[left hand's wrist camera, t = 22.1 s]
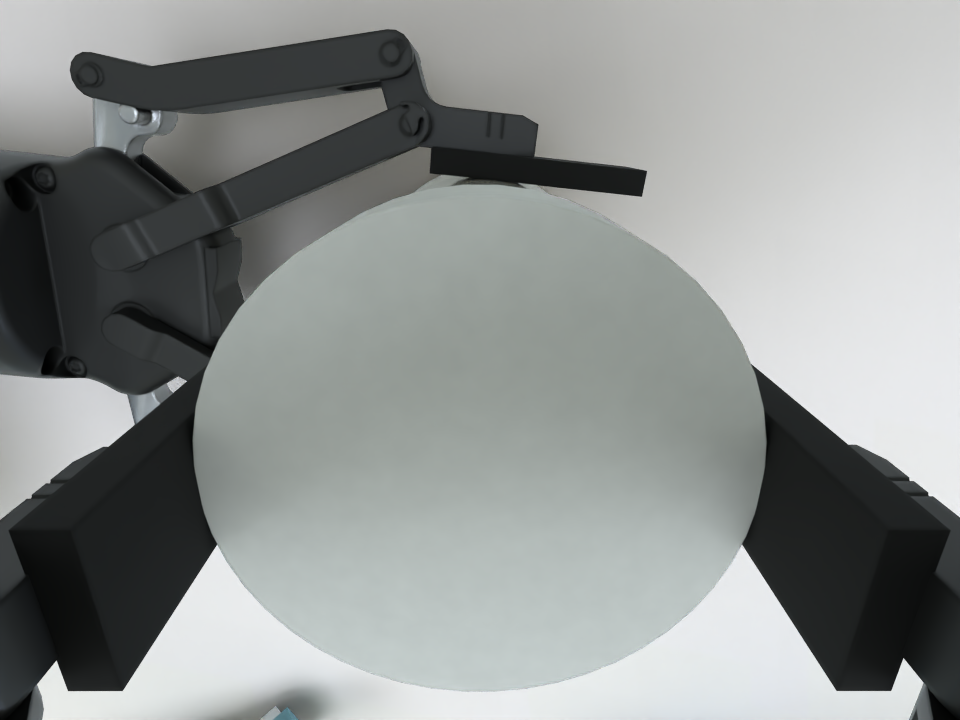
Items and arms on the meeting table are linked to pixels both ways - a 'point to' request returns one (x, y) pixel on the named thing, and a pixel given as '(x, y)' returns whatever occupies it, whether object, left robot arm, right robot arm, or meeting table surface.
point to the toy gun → (279, 715)
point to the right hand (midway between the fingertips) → (604, 325)
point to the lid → (479, 441)
